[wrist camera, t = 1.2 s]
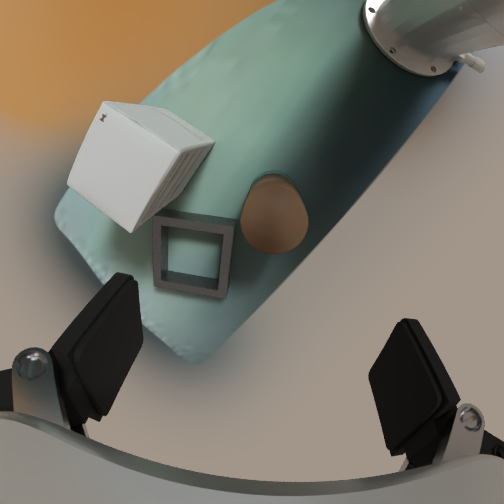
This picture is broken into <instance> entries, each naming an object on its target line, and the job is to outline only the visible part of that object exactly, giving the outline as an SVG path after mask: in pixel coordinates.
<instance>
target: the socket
mask: <svg viewBox="0 0 504 504" xmlns="http://www.w3.org/2000/svg"><path fill="white" fill-rule="evenodd" d="M236 223H237V219H230V218H223V217H216V216H209V215H202V214H195V213H187V212H180V211H172V210H164V209H161V210H159V211H158V212H157V213H155V214H154V215H153V276H154V286H157V287H162V288H167V289H173V290H178V291H183V292H189V293H194V294H200V295H205V296H211V297H217V298H223V299H226V296H227V292H228V288H229V280H230V272H231V263H232V255H233V247H234V239H235V231H236ZM168 226H170V227H177V228H184V229H191V230H197V231H204V232H211V233H218V234H224V236H223V245H222V255H221V265H220V275H219V279H214V278H208V277H202V276H196V275H190V274H184V273H179V272H173V271H168Z"/></svg>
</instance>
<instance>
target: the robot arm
mask: <svg viewBox="0 0 504 504" xmlns="http://www.w3.org/2000/svg"><path fill="white" fill-rule="evenodd" d="M363 20H364V23H365V26H366V29H367V31H368V33H369V35H370V37H371V39H372V40H373V42H374V43H375V45H376V46H377V47H378V48H379V49H380V51H381V52H382V53H383V54H384V55H385V56H386V57H387V58H389V59H390V60H391V61H392V62H393V63H395V64H396V65H398V66H399V67H401V68H402V69H404V70H406V71H408V72H410V73H413V74H416V75H420V76H436V75H440V74H442V73H444V72H446V71H447V70H449V69H450V68H451V66H452V64H453V63H454V61H458V62H460V63H466V64H468V65H469V66H470V67H471V68H473V69H474V70H476V71H477V72H479V73H482V72H483V71H484V69H485V63H484V62H483V61H482V60H481V59H479V58H478V57H477V56H475V55H474V54H471V53H470V52H474V51H478V50H482V49H487V48H491V47H496V46H501V45H504V0H366V1H365V3H364V6H363ZM390 52H391V53H390ZM142 344H143V331H142V322H141V313H140V303H139V291H138V282H137V281H136V280H134V278H133V276H132V275H128V274H124V273H119V272H117V273H115V274H114V275H113V276H112V278H111V279H110V280H109V281H108V282H107V283H106V284H105V285H104V286H103V287H102V288H101V290H100V291H99V292H98V293H97V294H96V295H95V296H94V297H93V299H92V300H91V301H90V302H89V303H88V304H87V305H86V306H85V308H84V309H83V310H82V311H81V312H80V313H79V315H78V316H77V317H76V318H75V319H74V320H73V322H72V323H71V324H70V325H69V326H68V328H67V329H66V330H65V331H64V333H63V334H62V335H61V336H60V337H59V339H58V340H57V341H56V342H55V344H54V345H53V346H52V348H51V349H50V351H49V352H47V351H45V350H44V349H42V348H37V347H34V348H28V349H25V350H23V351H21V352H20V353H19V354H18V355H17V356H16V357H15V359H14V361H13V365H12V368H11V369H7V370H3V371H0V504H504V442H503V441H501V440H500V439H498V438H497V437H495V436H493V435H492V434H490V433H488V432H487V431H485V430H484V426H485V425H484V424H485V421H484V417H483V415H482V413H481V411H480V410H479V409H478V408H477V407H475V406H474V405H472V404H462V405H461V406H460V407H459V408H458V409H457V406H456V405H457V403H458V402H459V401H460V400H461V399H460V397H459V395H458V393H457V391H456V389H455V387H454V385H453V383H452V380H451V378H450V377H449V375H448V373H447V371H446V369H445V367H444V365H443V363H442V361H441V359H440V358H439V356H438V354H437V352H436V350H435V349H434V347H433V345H432V343H431V341H430V340H429V338H428V336H427V335H426V333H425V331H424V330H423V328H422V326H421V325H420V323H419V321H418V320H416V319H407V318H404V319H402V320H401V321H400V322H398V323H397V324H396V326H395V328H394V329H393V332H392V333H391V335H390V337H389V339H388V340H387V342H386V344H385V346H384V348H383V349H382V351H381V353H380V354H379V356H378V358H377V359H376V361H375V363H374V364H373V366H372V368H371V369H370V372H369V382H370V385H371V389H372V392H373V396H374V400H375V403H376V407H377V411H378V415H379V419H380V423H381V426H382V431H383V435H384V439H385V443H386V447H387V449H388V450H390V453H391V456H397V455H402V454H404V453H406V456H407V457H406V459H405V461H404V463H403V465H402V467H401V468H400V470H399V472H396V473H392V474H386V475H380V476H374V477H367V478H359V479H351V480H339V481H325V482H273V481H257V480H246V479H238V478H229V477H223V476H216V475H210V474H205V473H199V472H194V471H190V470H185V469H180V468H177V467H172V466H169V465H164V464H161V463H158V462H154V461H151V460H147V459H144V458H141V457H138V456H135V455H132V454H129V453H126V452H123V451H120V450H117V449H115V448H112V447H109V446H107V445H104V444H102V443H99V442H97V441H94V440H92V439H90V438H89V435H88V433H87V429H86V426H85V423H86V421H87V419H88V417H89V418H92V419H94V420H96V421H99V422H100V420H101V418H102V416H106V415H107V414H108V413H109V411H110V409H111V407H112V405H113V402H114V400H115V398H116V396H117V394H118V392H119V390H120V388H121V386H122V384H123V382H124V380H125V378H126V376H127V374H128V372H129V370H130V368H131V366H132V364H133V362H134V360H135V358H136V356H137V354H138V353H139V351H140V349H141V347H142Z"/></svg>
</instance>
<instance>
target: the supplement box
mask: <svg viewBox="0 0 504 504" xmlns="http://www.w3.org/2000/svg"><path fill="white" fill-rule="evenodd" d="M214 143H215V141H214V140H213V139H211V138H210V137H209V136H207V135H206V134H204V133H203V132H201V131H200V130H198V129H197V128H195V127H194V126H192V125H191V124H189V123H188V122H186V121H184V120H183V119H181V118H180V117H178V116H177V115H175V114H173V113H172V112H170V111H168V110H167V109H164V108H158V107H151V106H144V105H137V104H129V103H119V102H110V101H103V103H102V105H101V107H100V109H99V110H98V112H97V114H96V116H95V118H94V120H93V122H92V124H91V126H90V128H89V130H88V132H87V135H86V137H85V139H84V141H83V143H82V146H81V148H80V150H79V152H78V155H77V158H76V160H75V162H74V165H73V167H72V170H71V172H70V175H69V178H68V181H67V185H68V186H69V187H71V188H72V189H73V190H74V191H76V192H77V193H78V194H80V195H81V196H82V197H83V198H85V199H86V200H87V201H88V202H90V203H91V204H92V205H94V206H95V207H96V208H98V209H99V210H100V211H101V212H103V213H104V214H105V215H107V216H108V217H109V218H111V219H112V220H113V221H115V222H116V223H117V224H119V225H120V226H121V227H123V228H124V229H125V230H127V231H128V232H129V233H132V232H134V231H135V230H136V229H137V228H138V227H140V226H141V225H142V224H143V223H144V222H146V221H147V220H148V219H149V218H151V217H152V216H153V215H154V214H155V213H157V212H158V211H159V210H160V209H162V208H163V207H164V206H166V205H167V204H168V203H170V202H171V201H172V200H174V199H175V198H176V197H178V196H179V195H180V194H181V193H182V191H183V189H184V188H185V186H186V185H187V183H188V182H189V180H190V179H191V177H192V175H193V174H194V172H195V171H196V170H197V168H198V167H199V165H200V164H201V162H202V161H203V159H204V158H205V156H206V155H207V153H208V152H209V151H210V149H211V148H212V146H213V145H214Z"/></svg>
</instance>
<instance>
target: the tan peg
mask: <svg viewBox="0 0 504 504" xmlns="http://www.w3.org/2000/svg"><path fill="white" fill-rule="evenodd" d="M240 223H241V230H242V233H243V235H244V237H245V239H246V240H247V241H248V242H249V244H250V245H252V246H253V247H254V248H256V249H257V250H259V251H261V252H264V253H268V254H280V253H285V252H288V251H290V250H292V249H294V248H295V247H296V246H297V245H299V244H300V242H301V241H302V240H303V238H304V237H305V235H306V233H307V229H308V214H307V211H306V209H305V206H304V204H303V202H302V200H301V198H300V195H299V193H298V191H297V189H296V187H295V185H294V183H293V181H292V180H291V179H290V178H289V177H288V176H287V175H285V174H283V173H281V172H277V171H269V172H265V173H263V174H261V175H259V176H258V177H257V178H256V179H255V180H254V182H253V183H252V186H251V188H250V191H249V194H248V197H247V200H246V202H245V205H244V208H243V211H242V214H241V221H240Z"/></svg>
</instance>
